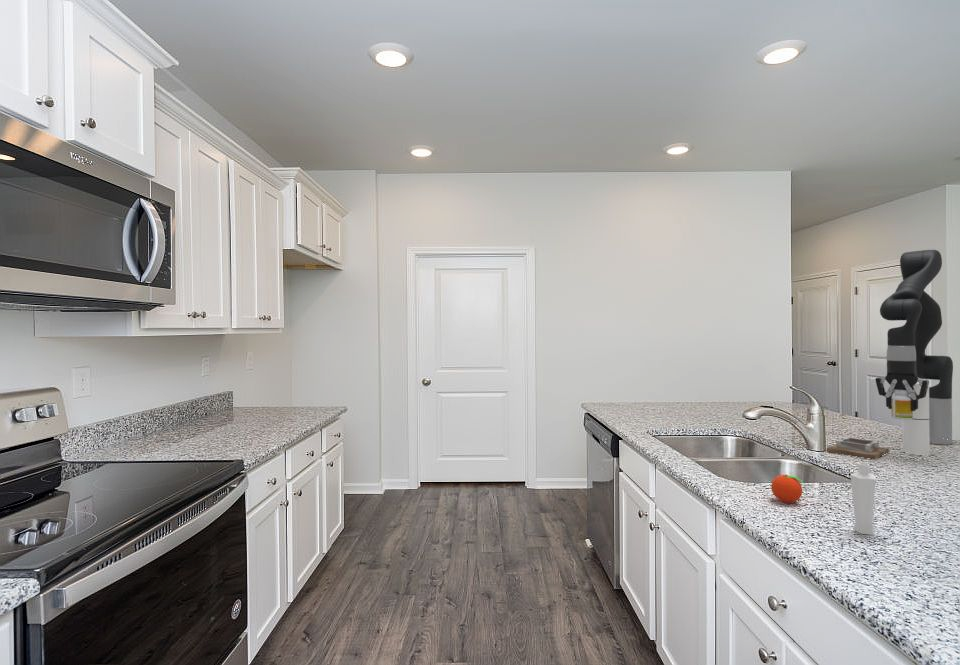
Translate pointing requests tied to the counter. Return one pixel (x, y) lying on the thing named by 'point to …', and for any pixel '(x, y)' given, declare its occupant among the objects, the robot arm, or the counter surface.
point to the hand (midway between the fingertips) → (901, 409)
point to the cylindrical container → (917, 427)
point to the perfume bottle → (863, 499)
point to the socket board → (858, 448)
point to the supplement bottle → (901, 405)
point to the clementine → (787, 488)
